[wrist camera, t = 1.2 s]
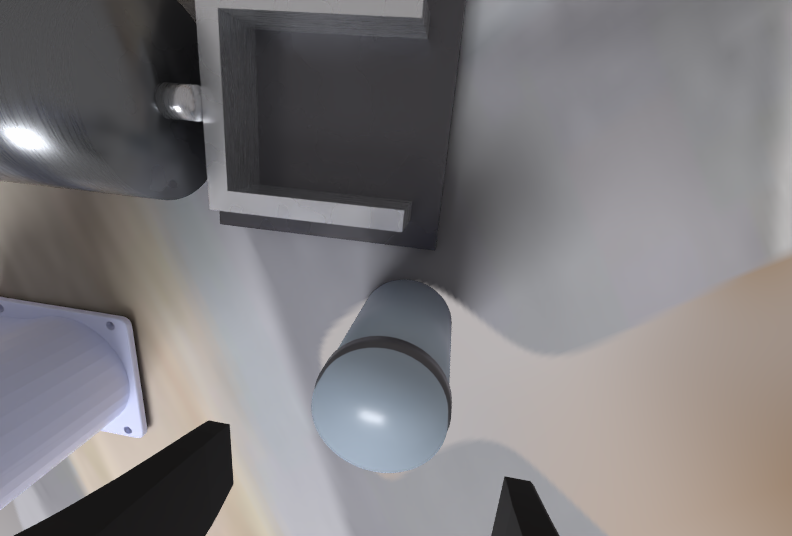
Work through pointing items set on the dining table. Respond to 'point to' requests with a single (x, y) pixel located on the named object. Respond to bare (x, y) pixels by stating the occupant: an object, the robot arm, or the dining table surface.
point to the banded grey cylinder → (389, 381)
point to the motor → (239, 107)
